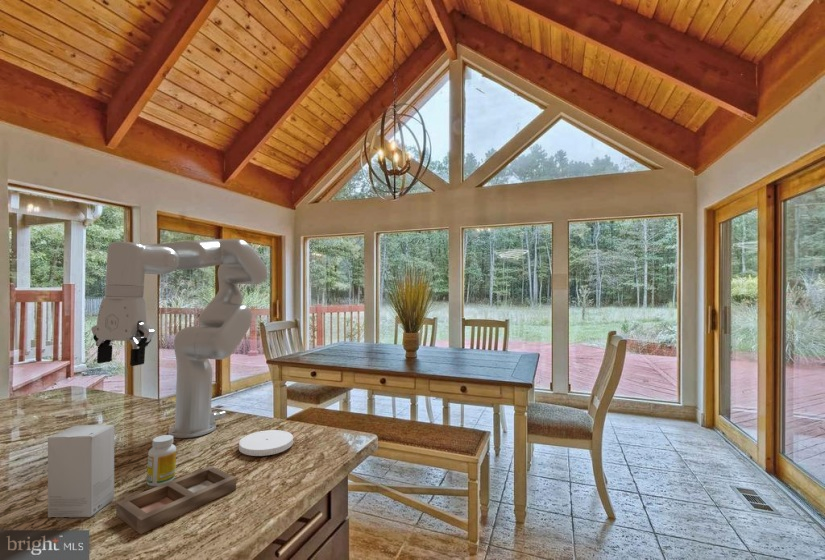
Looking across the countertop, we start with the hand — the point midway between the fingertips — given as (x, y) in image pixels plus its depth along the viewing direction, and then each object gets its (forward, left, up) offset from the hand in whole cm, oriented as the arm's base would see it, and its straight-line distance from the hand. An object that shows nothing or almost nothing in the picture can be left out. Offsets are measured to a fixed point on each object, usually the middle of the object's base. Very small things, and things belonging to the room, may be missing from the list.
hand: (120, 363), depth 92 cm
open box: (-1, +27, -25) cm, 37 cm away
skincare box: (+11, +14, -25) cm, 31 cm away
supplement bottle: (-3, +15, -25) cm, 29 cm away
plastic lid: (-28, +19, -26) cm, 42 cm away
